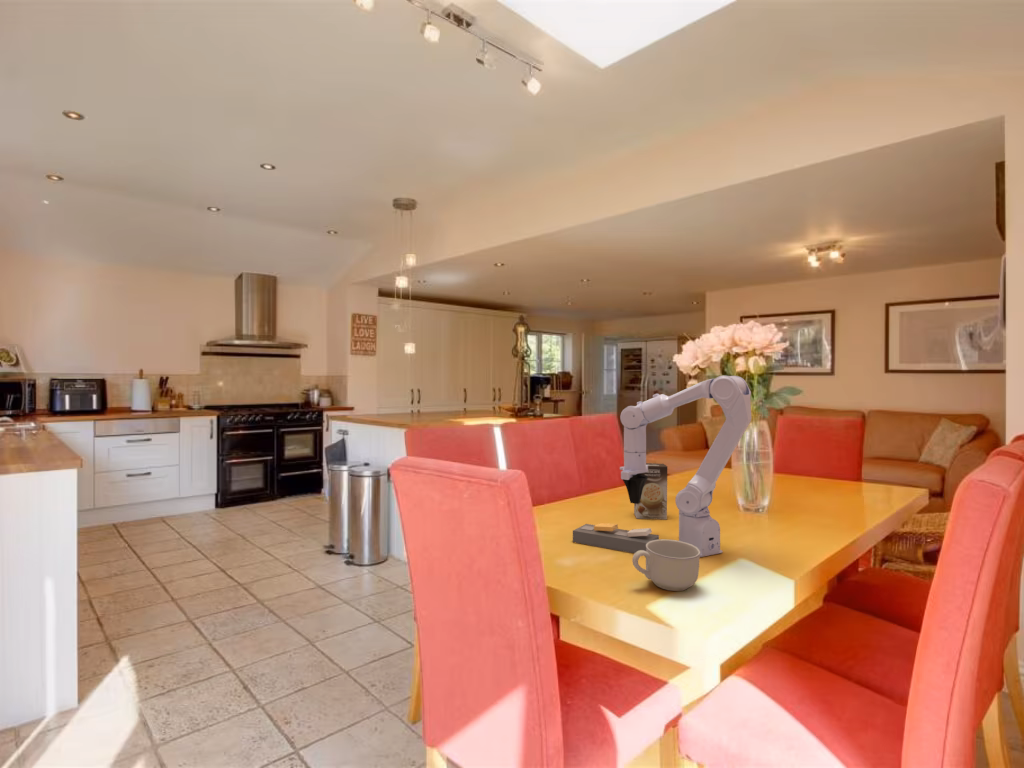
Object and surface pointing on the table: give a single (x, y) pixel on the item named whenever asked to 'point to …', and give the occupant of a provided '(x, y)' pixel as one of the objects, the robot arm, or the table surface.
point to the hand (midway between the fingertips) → (635, 503)
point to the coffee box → (653, 494)
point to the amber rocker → (605, 527)
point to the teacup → (670, 563)
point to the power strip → (611, 539)
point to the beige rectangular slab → (639, 532)
